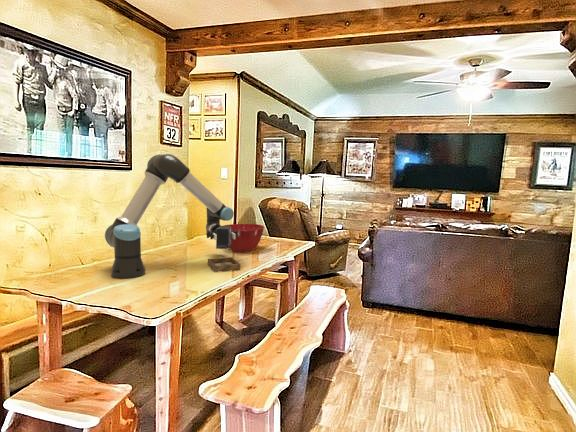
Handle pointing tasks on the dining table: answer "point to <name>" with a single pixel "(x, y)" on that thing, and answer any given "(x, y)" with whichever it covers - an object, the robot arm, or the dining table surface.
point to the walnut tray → (223, 264)
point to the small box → (223, 237)
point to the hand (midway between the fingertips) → (225, 237)
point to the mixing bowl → (245, 237)
